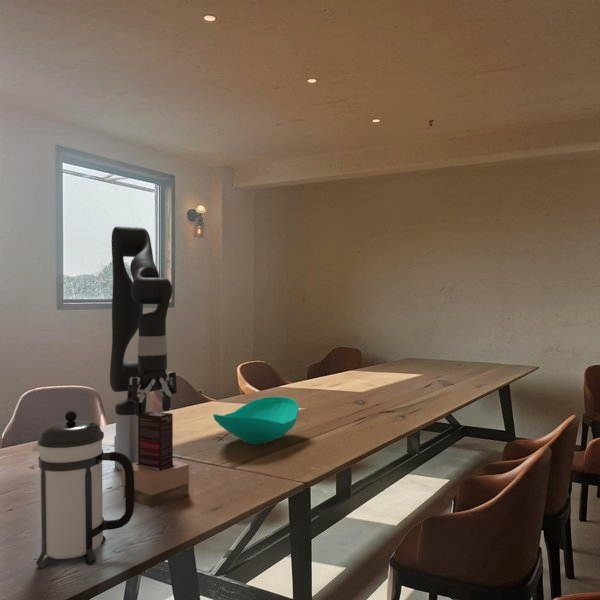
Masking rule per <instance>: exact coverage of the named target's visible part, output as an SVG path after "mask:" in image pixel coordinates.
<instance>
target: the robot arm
mask: <svg viewBox="0 0 600 600" xmlns="http://www.w3.org/2000/svg"><path fill="white" fill-rule="evenodd" d="M125 257H127V258H133V259H132V260H131V262H130V265H129V266H130V268H129V269H130V275H131V276H132V278H131V276H130V275H129V273H128V270H127V268H126V265H125V260H124V258H125ZM111 259H112V261H111V262H112V263H111V265H112V294H111V295H112V296H111V297H112V298H111V330H112V331H111V336H112V337H111V339H112V340H111V341H112V342H111V355H110V367H109V381H110V382H109V384H110V388H111V390H112V391H113V392H116V393H121V392H122V393H123V392H127V397H126V398H125V399H123V400H121V401H119V402H117V403H116V405H115V409H114V410H115V436H114V438H113V439H114V443H113V444H114V452H119V453H122V454H124V455H126V456H127V457H128V458H129V460H130V461H131V463H135V462H138V417H142V416H143V412H147V396H148V394H149V393H151V392H155V391H158V392H160V394H161V395H162V396H161V397H162V398H161V403H162V405H161V407H162V408H161V409H162V411H165V412H169V411H170V409H171V406H172V405H171V402H172V401H171V400H172V399H171V397H172V395H174V394H177V391H178V389H177V388H178V386H177V374H176V373H177V372H175V371H167V369H168V343H167V328H166V327H167V326H166V325H167V322H166V321H167V317H168V316H167V314H168V310H169V309H168V308H169V306H170V303H171V299H172V296H173V286H172V285H173V284H172V283H171V281H170V280H169V279H168V278H165V277H160V273H159V271H158V268H157V265H156V263H155V261H154V254H153V248H152V241H151V236H150V234H149V231H148V230H147V229H146V228H143V227H138V226H136V227H135V226H121V225H120V226H115V227H113V229H112V231H111ZM144 305H157V306H156V308H155V310H153V311H150V312H146V313H144V312H143V311H144ZM137 332H138V338H137V339H138V340H137V360H130V361H124V359H125V354H126V350H127V348H128V346H129V344H130V342H131V340H132V339H133V337H134V336H135V335H136V333H137ZM166 382H167V383H166ZM114 467H115V468H116V470H118V471H122V465H121V464H120V463H119V462H116V461H114Z"/></svg>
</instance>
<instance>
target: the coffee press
mask: <svg viewBox="0 0 600 600" xmlns="http://www.w3.org/2000/svg"><path fill="white" fill-rule="evenodd" d="M64 415H65V416H64V418H65V421H61V422H55V423H54V424H53V423H52V424H50V425H48V426H47V427H45V428H44V429H43V430H42V431H41V433H40V434H39V437H38V438H37V440H36V442H37V443H35V444H34V445H33V447H32V449H31V451H32V452H38V454H39V456H38V458H37V459H38V460H37V461H38V468H39V492H40V493H39V495H40V496H39V499H40V500H39V502H40V504H39V505H40V506H39V509H40V510H39V511H40V514H39V515H40V518H39V519H40V549H41V552H40V554H39V557H38V558H37V560H36V563H35V564H36V566H37V567H38V568H40V569H44V568H46V566H47V565H48V564H49V563H50V561H52V560H53V559H56V560H68V559H75V558H79V557H82V558H83V559H84V561H85V563H86V565H88V566H90V565H93V564H95V563H96V562H97V558H96V555H95V552H94V551H95V550H97V549H98V548H99V547H100V546H101V545H104V544H105V542H106V541H107V540H106V539H107V537H105V535H104V531H110V530H117V529H120V528H123V527H124V526H126V525H127V524H128V523H129V522H130V521H131V519H132V517H133V515H134V512H135V502H134V500H135V496H134V470H133V466H132V463H131V461H130V460H129V458H128V457H127V456H126V455H124V454H122V453H119V452H115V451H110V452H104V449H103V439H104V438H105V437H104V436H105V433H104V431H102V429H101V427H100V425H98V424H97V423H95V422H92V421H88V420H76V419H77V418H78V415H77V413H76V412H75V411H74V410H69V411H67V412H66V413H65V414H64ZM104 461H110V462H115V461H116V462H119V463H120V464H121V465H122V466H123V468H124V471H125V498H124V499H125V503H124V504H125V511H124V513H123V515H122V516H121V517H120V518H117V519H109V520H107V519H105V518H104V511H103V510H104V508H103V507H104V505H103V503H104V502H103V499H104V498H103V495H104V494H103V462H104ZM45 556H46V558H45ZM44 558H45V560H44ZM43 560H44V561H43Z"/></svg>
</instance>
